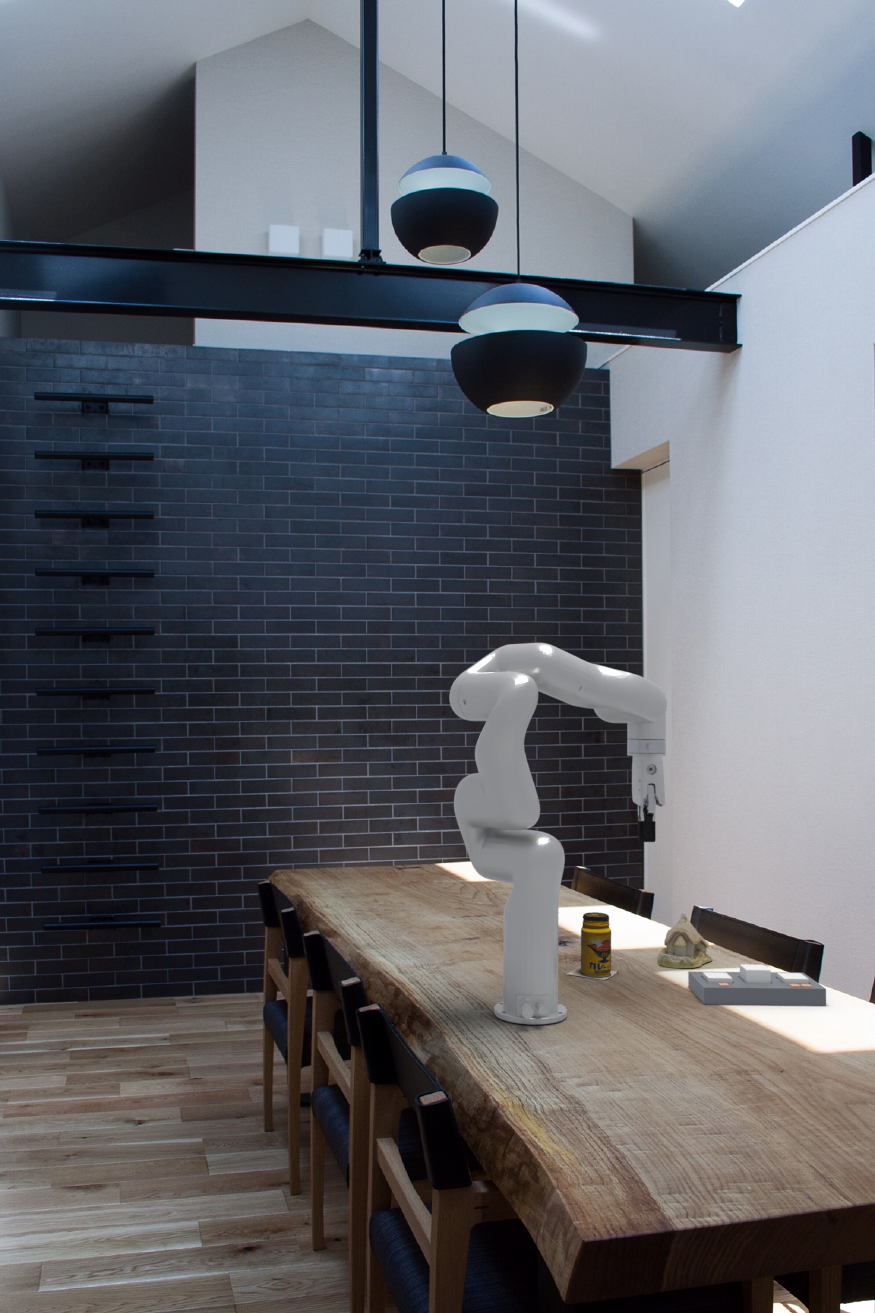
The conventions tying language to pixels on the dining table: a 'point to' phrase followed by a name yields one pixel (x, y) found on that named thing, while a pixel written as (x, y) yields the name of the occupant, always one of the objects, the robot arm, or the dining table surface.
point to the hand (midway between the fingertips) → (646, 841)
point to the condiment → (595, 947)
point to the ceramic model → (684, 947)
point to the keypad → (756, 991)
